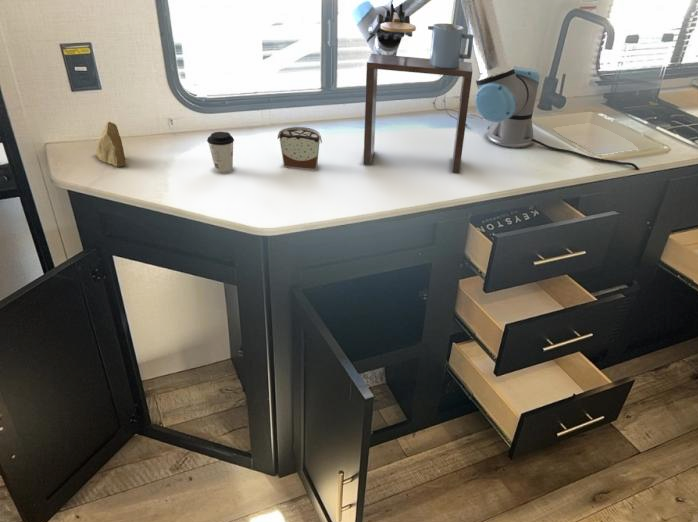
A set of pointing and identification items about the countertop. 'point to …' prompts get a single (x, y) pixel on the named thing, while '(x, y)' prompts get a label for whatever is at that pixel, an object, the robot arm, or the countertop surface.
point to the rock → (111, 146)
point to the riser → (418, 67)
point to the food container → (300, 147)
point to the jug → (448, 45)
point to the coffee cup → (221, 151)
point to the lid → (397, 25)
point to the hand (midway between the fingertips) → (396, 9)
